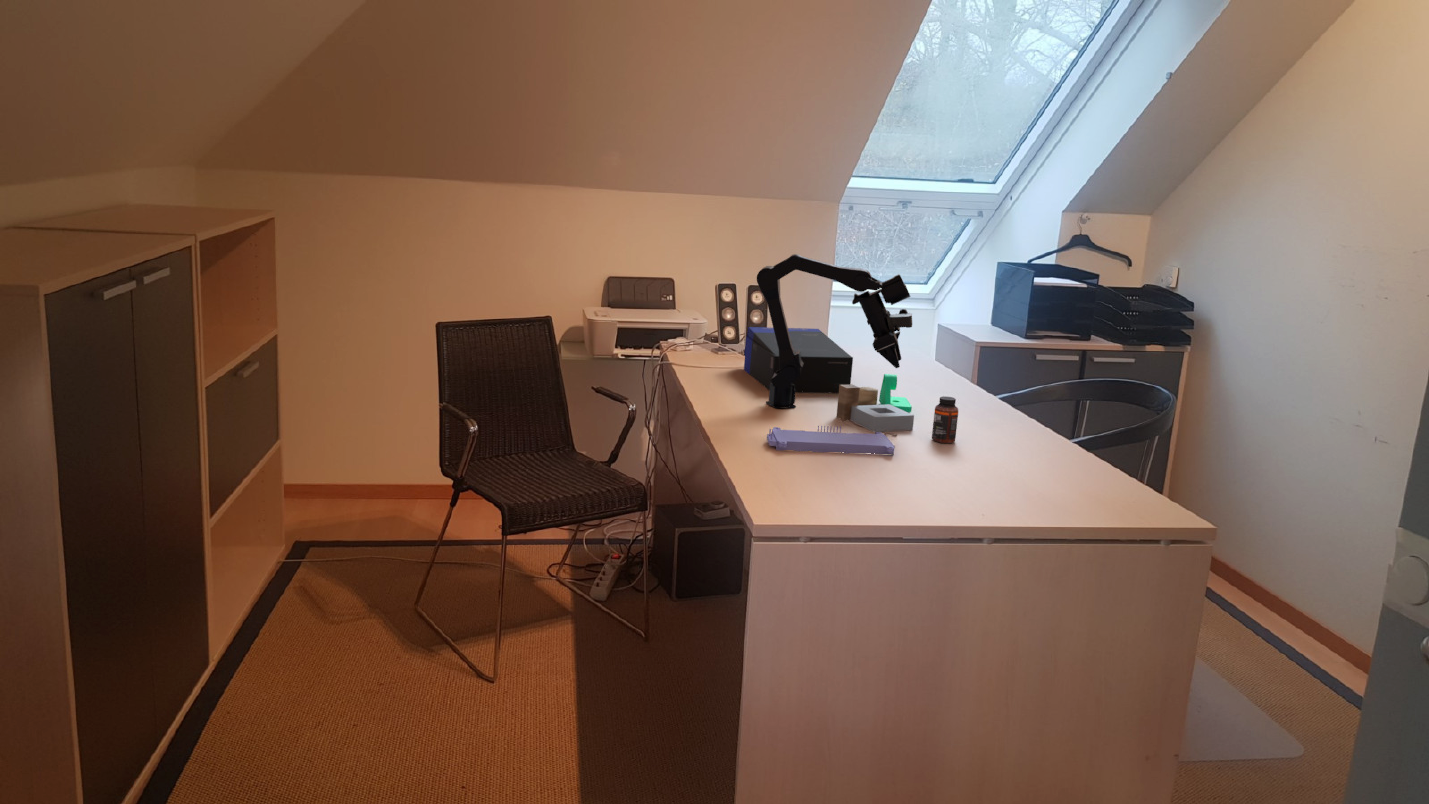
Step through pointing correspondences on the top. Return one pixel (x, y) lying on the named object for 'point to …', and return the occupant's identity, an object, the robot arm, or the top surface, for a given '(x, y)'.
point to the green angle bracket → (885, 394)
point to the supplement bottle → (945, 420)
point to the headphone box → (818, 354)
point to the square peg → (847, 400)
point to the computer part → (830, 441)
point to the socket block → (882, 418)
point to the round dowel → (867, 396)
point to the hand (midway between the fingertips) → (898, 363)
